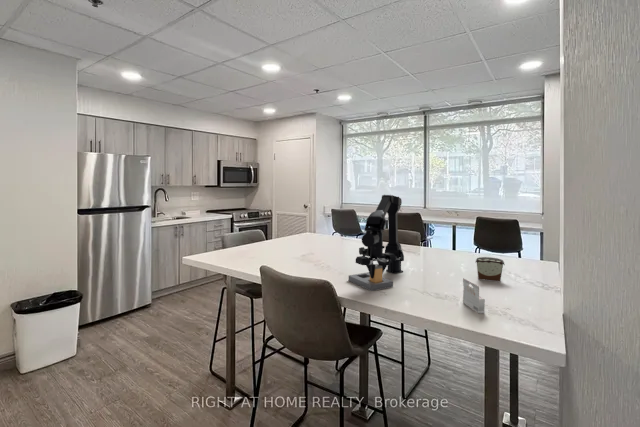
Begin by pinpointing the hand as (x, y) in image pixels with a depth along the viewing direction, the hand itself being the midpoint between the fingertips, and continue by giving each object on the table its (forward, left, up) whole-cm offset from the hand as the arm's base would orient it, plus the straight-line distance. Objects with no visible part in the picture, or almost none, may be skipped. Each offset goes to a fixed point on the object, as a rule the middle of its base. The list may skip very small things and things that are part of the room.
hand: (376, 277), depth 148 cm
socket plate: (0, -4, -4) cm, 6 cm away
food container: (-54, +18, -4) cm, 57 cm away
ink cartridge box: (-15, +39, -4) cm, 42 cm away
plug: (0, 0, -2) cm, 2 cm away
